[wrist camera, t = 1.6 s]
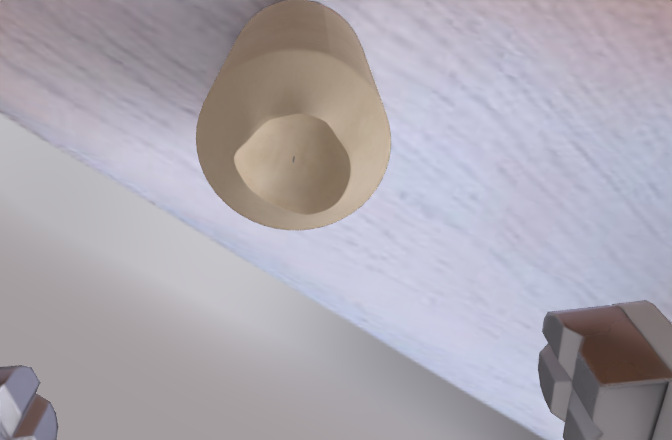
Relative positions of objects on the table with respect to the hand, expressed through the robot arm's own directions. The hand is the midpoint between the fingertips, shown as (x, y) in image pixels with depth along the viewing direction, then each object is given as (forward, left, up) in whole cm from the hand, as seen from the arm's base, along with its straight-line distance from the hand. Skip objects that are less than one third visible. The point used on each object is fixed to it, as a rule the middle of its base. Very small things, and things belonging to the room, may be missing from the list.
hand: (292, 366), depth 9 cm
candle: (0, 0, -17) cm, 17 cm away
